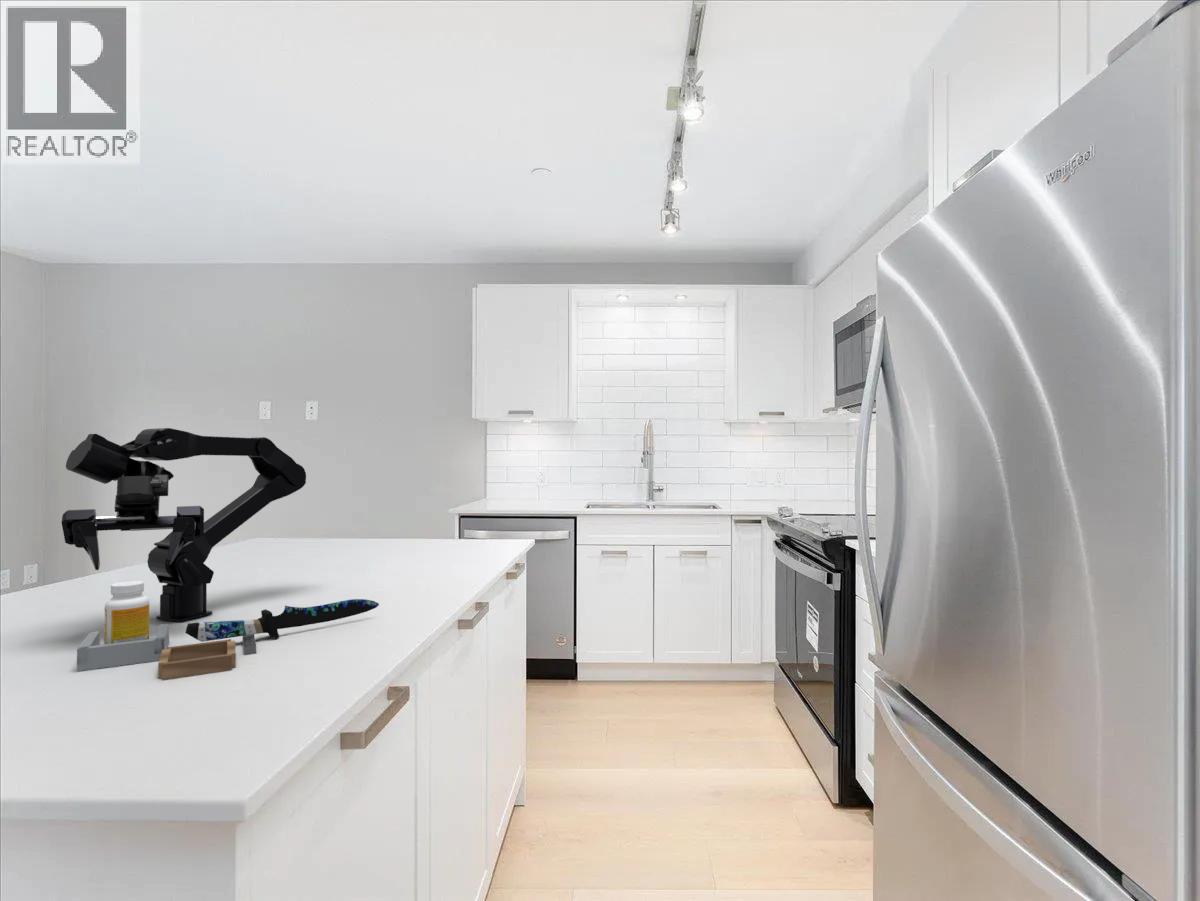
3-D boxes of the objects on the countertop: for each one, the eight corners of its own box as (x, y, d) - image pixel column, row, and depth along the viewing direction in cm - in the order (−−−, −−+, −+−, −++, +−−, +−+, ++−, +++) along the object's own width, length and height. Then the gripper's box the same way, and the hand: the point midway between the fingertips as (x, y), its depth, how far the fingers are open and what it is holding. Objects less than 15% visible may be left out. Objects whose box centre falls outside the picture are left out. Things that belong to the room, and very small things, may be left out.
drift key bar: (242, 641, 104) (242, 635, 104) (253, 639, 104) (253, 633, 104) (243, 654, 97) (244, 647, 97) (256, 653, 98) (256, 646, 98)
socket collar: (163, 661, 93) (163, 647, 93) (234, 652, 98) (234, 638, 98) (157, 680, 86) (157, 665, 86) (235, 669, 90) (235, 654, 90)
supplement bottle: (157, 645, 98) (158, 581, 98) (121, 655, 93) (122, 587, 93) (132, 642, 100) (133, 578, 100) (95, 652, 95) (95, 585, 95)
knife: (186, 653, 96) (187, 623, 96) (182, 648, 99) (183, 619, 99) (384, 622, 117) (385, 597, 117) (377, 618, 119) (378, 594, 119)
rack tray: (89, 652, 98) (89, 632, 98) (169, 642, 103) (169, 623, 103) (76, 671, 89) (76, 649, 89) (164, 659, 94) (164, 639, 94)
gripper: (64, 458, 101) (49, 537, 92) (204, 458, 111) (204, 529, 102) (72, 505, 108) (59, 583, 98) (203, 501, 118) (203, 572, 108)
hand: (133, 565), depth 101 cm, fingers open, 9 cm apart
